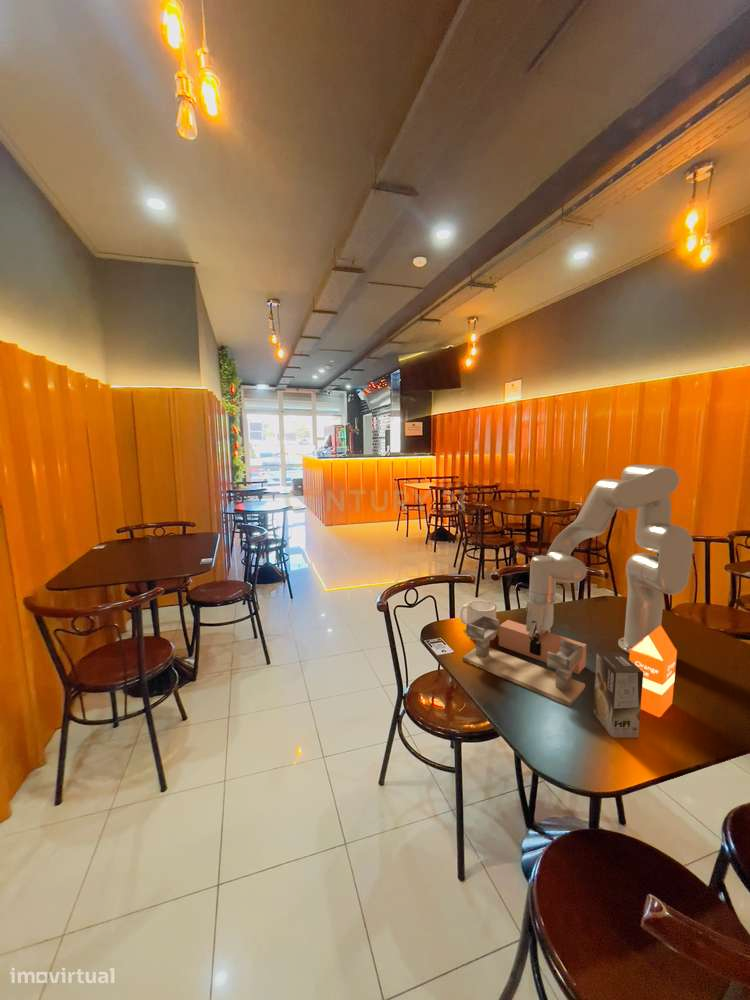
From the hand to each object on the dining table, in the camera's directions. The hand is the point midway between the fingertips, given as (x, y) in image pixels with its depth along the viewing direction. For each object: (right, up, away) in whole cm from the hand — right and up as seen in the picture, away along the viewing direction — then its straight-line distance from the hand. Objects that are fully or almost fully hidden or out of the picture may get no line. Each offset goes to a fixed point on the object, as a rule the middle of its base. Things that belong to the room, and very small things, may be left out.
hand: (539, 649), depth 127 cm
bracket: (+7, 0, +18) cm, 20 cm away
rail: (0, -2, 0) cm, 2 cm away
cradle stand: (-10, -3, -10) cm, 14 cm away
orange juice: (+19, -5, -24) cm, 30 cm away
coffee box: (+5, -6, -31) cm, 32 cm away
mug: (-15, 0, +16) cm, 22 cm away
